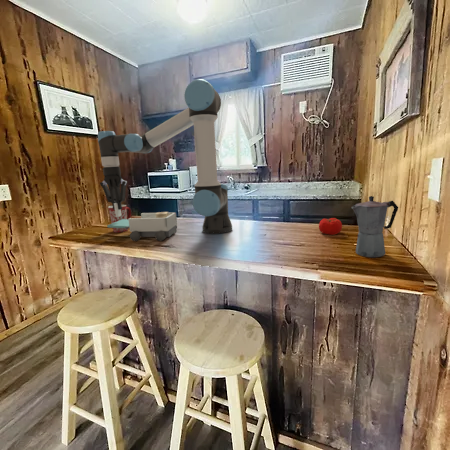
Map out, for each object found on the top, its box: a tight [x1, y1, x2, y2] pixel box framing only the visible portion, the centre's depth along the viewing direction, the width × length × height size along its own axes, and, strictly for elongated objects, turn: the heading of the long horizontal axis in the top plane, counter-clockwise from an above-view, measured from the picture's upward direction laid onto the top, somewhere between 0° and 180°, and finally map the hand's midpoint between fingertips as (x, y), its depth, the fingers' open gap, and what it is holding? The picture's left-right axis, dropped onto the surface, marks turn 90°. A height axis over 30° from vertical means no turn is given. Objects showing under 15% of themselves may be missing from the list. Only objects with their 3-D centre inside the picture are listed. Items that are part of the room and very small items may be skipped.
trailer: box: [128, 212, 178, 242], centre depth 123 cm, size 18×18×10 cm
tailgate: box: [107, 219, 130, 230], centre depth 125 cm, size 1×16×11 cm
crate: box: [155, 211, 169, 218], centre depth 123 cm, size 5×5×5 cm
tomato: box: [318, 217, 343, 236], centre depth 116 cm, size 10×11×6 cm
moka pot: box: [351, 195, 399, 258], centre depth 87 cm, size 10×15×20 cm, turn 95°
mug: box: [107, 204, 132, 233], centre depth 137 cm, size 13×9×14 cm
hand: (118, 216), depth 124 cm, fingers closed
